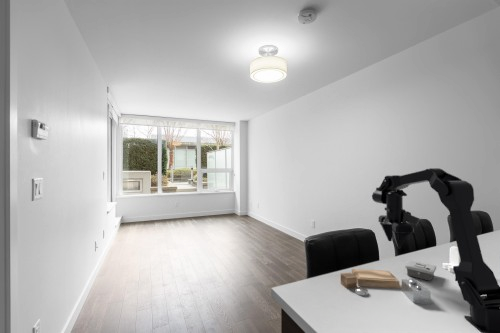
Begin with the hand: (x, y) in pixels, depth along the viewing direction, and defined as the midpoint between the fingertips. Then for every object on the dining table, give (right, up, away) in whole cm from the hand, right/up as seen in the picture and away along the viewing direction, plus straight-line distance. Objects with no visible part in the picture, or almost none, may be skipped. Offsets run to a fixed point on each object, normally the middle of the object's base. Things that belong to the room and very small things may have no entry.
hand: (394, 244), depth 100 cm
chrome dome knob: (-20, -12, -15) cm, 28 cm away
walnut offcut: (-23, -12, -10) cm, 28 cm away
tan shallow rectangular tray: (-12, -12, -6) cm, 18 cm away
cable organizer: (+29, -12, +3) cm, 32 cm away
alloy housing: (-4, -12, -18) cm, 22 cm away
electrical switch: (+13, -12, -4) cm, 18 cm away
